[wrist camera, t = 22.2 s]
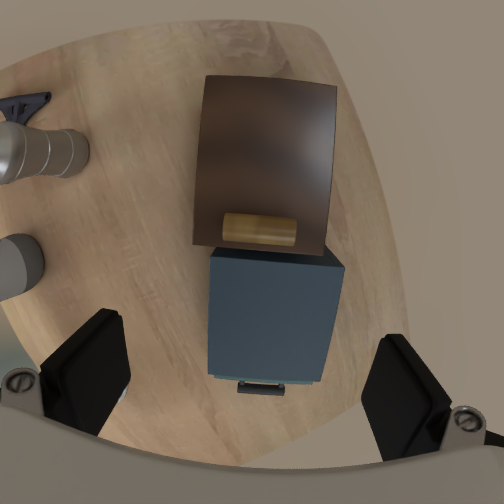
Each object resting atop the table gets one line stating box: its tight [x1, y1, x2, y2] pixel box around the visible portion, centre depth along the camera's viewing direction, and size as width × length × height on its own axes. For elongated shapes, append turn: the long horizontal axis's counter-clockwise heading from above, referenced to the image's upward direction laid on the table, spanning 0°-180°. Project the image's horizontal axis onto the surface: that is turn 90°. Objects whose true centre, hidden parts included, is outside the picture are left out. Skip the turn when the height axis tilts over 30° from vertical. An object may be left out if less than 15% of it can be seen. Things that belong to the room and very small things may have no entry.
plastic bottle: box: [0, 121, 89, 185], centre depth 23 cm, size 6×7×20 cm
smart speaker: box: [0, 234, 44, 302], centre depth 31 cm, size 10×9×14 cm
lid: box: [192, 75, 337, 256], centre depth 21 cm, size 15×12×6 cm
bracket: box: [0, 92, 51, 125], centre depth 31 cm, size 14×15×3 cm
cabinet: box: [208, 245, 345, 382], centre depth 32 cm, size 14×13×9 cm
